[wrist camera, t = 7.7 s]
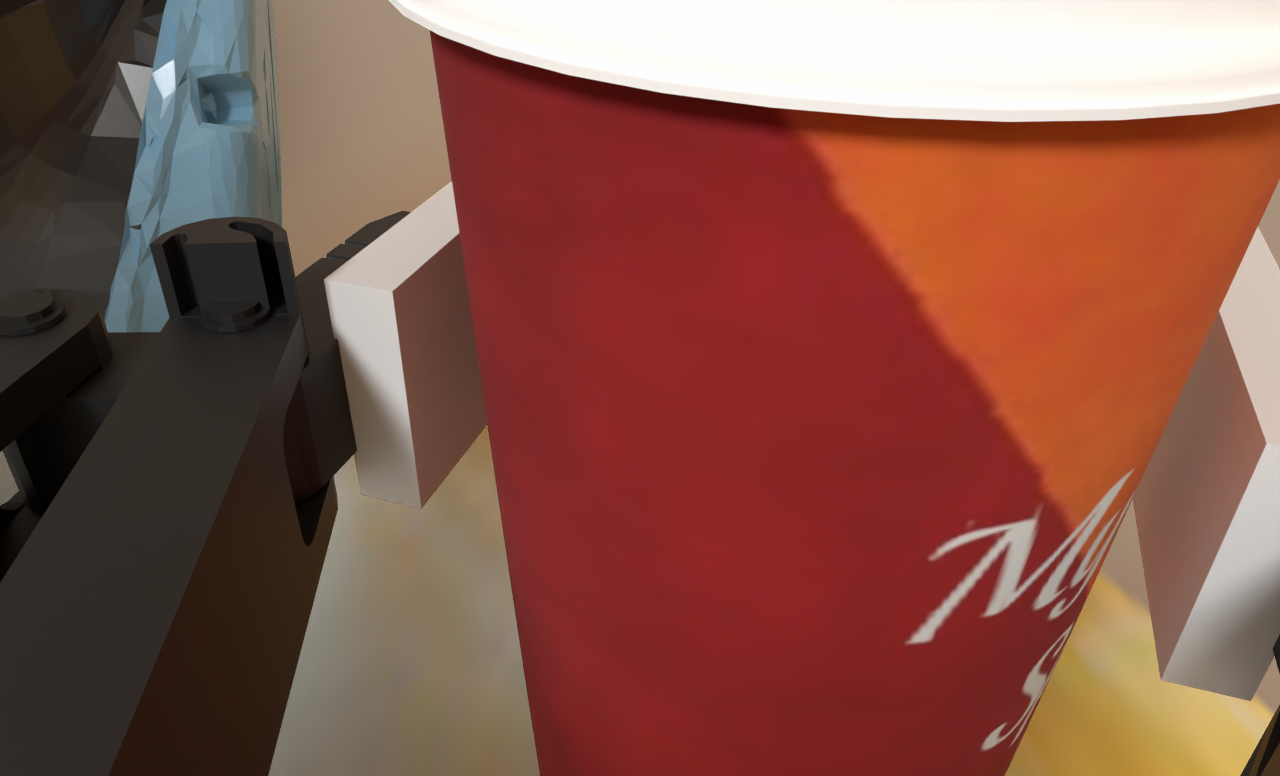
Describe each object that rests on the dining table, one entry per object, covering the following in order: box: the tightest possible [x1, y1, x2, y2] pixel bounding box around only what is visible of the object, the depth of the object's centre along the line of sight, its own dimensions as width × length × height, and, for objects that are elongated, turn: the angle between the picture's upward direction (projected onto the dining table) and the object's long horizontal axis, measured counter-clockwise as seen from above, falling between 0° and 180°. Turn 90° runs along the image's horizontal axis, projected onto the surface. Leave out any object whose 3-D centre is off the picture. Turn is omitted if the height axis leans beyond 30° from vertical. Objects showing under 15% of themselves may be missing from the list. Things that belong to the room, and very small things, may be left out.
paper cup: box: [389, 0, 1280, 776], centre depth 11 cm, size 8×8×14 cm
